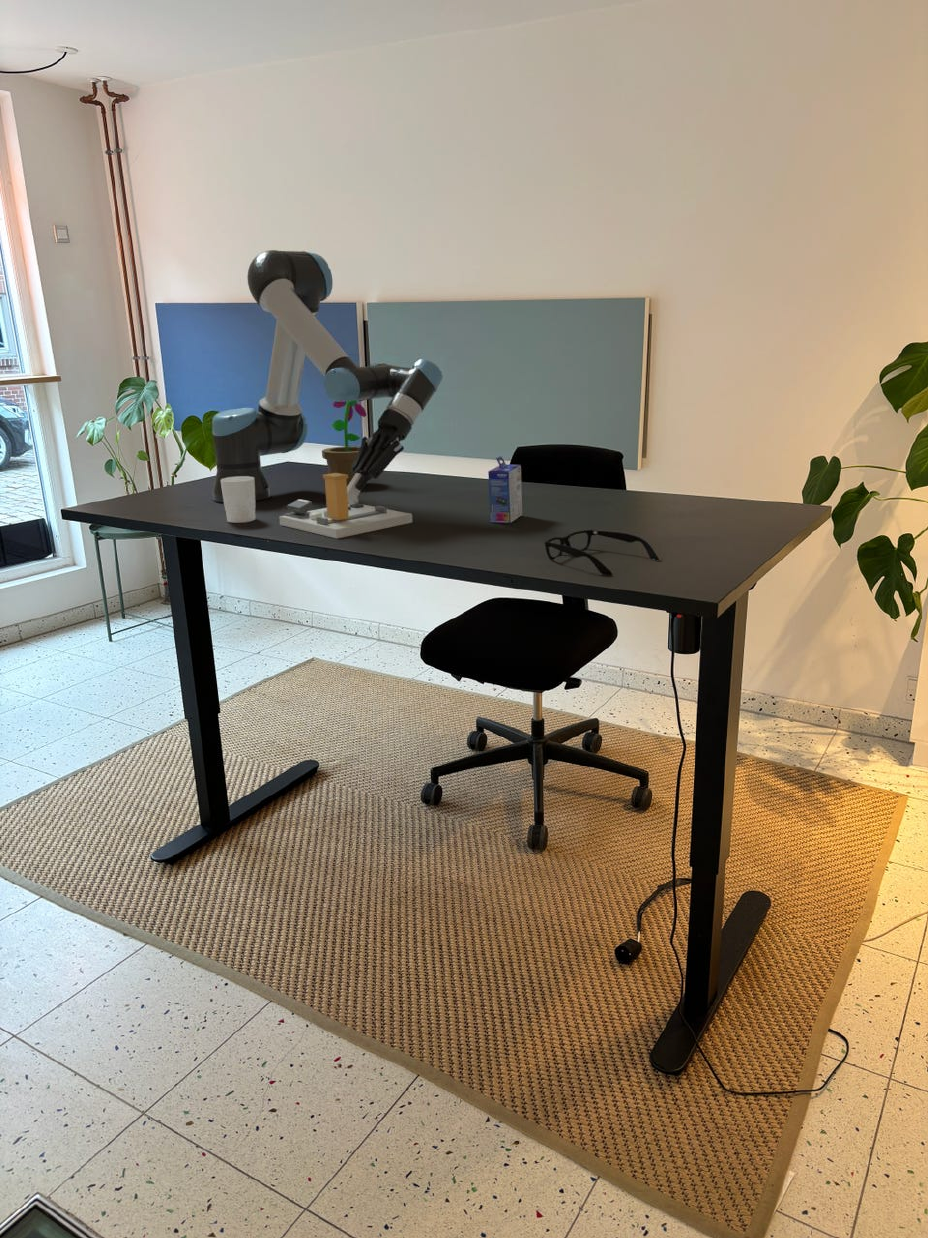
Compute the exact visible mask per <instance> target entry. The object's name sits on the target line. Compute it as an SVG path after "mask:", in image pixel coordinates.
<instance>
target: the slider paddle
mask: <svg viewBox="0 0 928 1238" xmlns="http://www.w3.org/2000/svg"><path fill="white" fill-rule="evenodd" d="M347 478H348V475H346V474H340V473H331V474H329V473H327V474H326V473H325V474H322V479H324V489H325V500H326V501H325V503H326V508H327V518H330V519H335V520H342V519H347V518H349V514H348V504H349V503H348V498H347V481H346V479H347Z"/></svg>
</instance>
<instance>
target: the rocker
mask: <svg viewBox="0 0 928 1238" xmlns="http://www.w3.org/2000/svg"><path fill="white" fill-rule="evenodd" d="M286 506H287V510H288V511H289V512H297V513H303V512H305V511H310V509H313V508H314V505H313V502H312V501H311V500H307V499H306V500H305V499H300V498H299V499H296V500H295V501H293V502H290V503H289V504H287V505H286Z"/></svg>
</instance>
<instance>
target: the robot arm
mask: <svg viewBox="0 0 928 1238" xmlns="http://www.w3.org/2000/svg"><path fill="white" fill-rule="evenodd" d="M329 267H330V266H329V264H328V262H327V261H326V259H325V258H323V257H322V256H321V255H319V254H318V253H315V252H310V251H309V252H308V251H306V250H305V251H304V250H302V251H300V250H299V251H298V250H297V251H295V250H276V249H275V250H274V249H272V250H264V251H262V252H260V253H259V254H257V255H256V256H255V257H254V259H252V261H251V263H250V264H249V267H248V270H247V286H248V289H249V292H250V294H251V295H252V297H253V299H254V301H255V302H256V303H257V305H259V307H260V308H261V309H262V310H263V312H266V313H271V315H272V316H273V317H274V318H275V319H276V323H275V331H274V339H273V344H272V352H271V359H270V363H269V364H270V365H269V371H268V379H267V386H266V393H265V396H263V398H260V400H259V401H258V407H257V408H258V409H257V411H256V409H255V408H252V407H241V408H236V409H235V408H233V409H229V410H228V409H227V410H223V411H219V412H218V413H216V414H214V416H213V417H212V421H211V422H212V427H211V428H212V432H211V433H212V437H213V445H214V446H213V448H214V455H215V465H216V474H215V480H214V484H213V488H212V500H213V501H215V502H217V503H224V500H223V494H222V487H221V479H223V478H228V477H237V476H249V477H254V480H255V502H256V501H257V502H258V501H262V500H263V501H264V500H266V499H268V498H270V497H271V491H270V490H271V489H270V487H269V484H268V482H267V479H266V477H265V474H264V472H263V470H262V465H261V456H269V455H276V454H277V455H278V454H286V453H289V452H293V451H296V450H298V449H299V448H301V446H303V444H304V443H305V440H306V438H307V436H308V435H307V434H308V424H307V423H306V421H307V419H306V417H305V415H304V414H303V412H302V411H303V409H302V407H301V406H300V404H299V403H298V401H299V396H300V394H299V393H300V389H301V383H302V377H303V371H304V364H305V358H306V357H307V358H308V359H309V361H310V362H311V363H312V364H313V365H314V366H315V368H316V369H317V370H318V372H320V374H321V375H322V377H324V379H323V388H324V389H325V393H326V396H327V397H328V398H329V399H330V400H332V401H334V402H335V401H336V402H351V401H356V400H357V401H358V400H364V399H367V400H376V399H385V398H391V400H390V401H389V402H388V404H387V405H386V408H385V410H384V411H383V412H382V413H381V415H380V417H379V418H378V420H377V430H375V432H374V433H372V436H370V437H369V438H368V437H367V436H363V437H362V439H361V445H360V446H361V447H360V449H359V451H358V454H357V456H356V458H355V460H354V463H353V465H352V467H351V470H352V471H353V472H354V473H355V474H354V476H353V477H352V479H351V481H350V482H349V484H348V486H347V498H348V504H350V503H352V504H353V503H355V499H356V498H358V496H359V495H360V493H361V491H362V490H363V489H364V488H365V486H366V483H367V484H368V481H371V479H375V480H376V479H378V478H379V477H380V475H382V473H383V472H384V471H385V470H386V468H387V467H388V466H389V465H390V463H391V462H392V461H393V460H394V459H395V457H397V455H399V454H400V453H401V452H402V451H404V449H405V447H404V446H403V445H402V443H401V441H405V440H406V438H407V436H408V435H409V434H410V432H411V431H412V429H413V426H414V425H415V424H416V422H417V421H418V419H419V417H420V415H422V413H423V411H424V410H425V408H426V407H427V405H428V404H429V401H430V400H431V399H432V397H433V396H434V394H435V393H436V392H437V390H438V388H439V386H440V384H441V382H442V380H443V373H442V371H441V369H440V368H439V367H438V366H437V364H436V363H434V362H433V361H431V360H429V359H426V358H420V359H418V360H416V361H415V363H414V364H412V367H403V366H397V365H392V364H387V363H378V362H377V363H371V364H370V365H369V366H358V365H356V364H355V362H354V361H353V360H352V359H351V357H350V356H349V355H348V354H347V352H346V351H345V350H344V349H343V348H342V347H341V346H340V345H339V344H338V342H337V341H336V340H335V339H334V337H333V336H332V335H331V334H330V332H329V331H328V330H327V329H326V328H325V327H324V326H323V324H322V323H321V322H320V321H319V320H318V318H317V317H316V316H315V315H317V314H318V313H319V309H320V304H321V302H323V301H325V300H327V299H328V297H330V295H331V294H332V290H333V285H334V282H333V280H334V279H333V275H332V272H331V269H330V268H329ZM364 401H365V400H364Z"/></svg>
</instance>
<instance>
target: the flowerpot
mask: <svg viewBox="0 0 928 1238" xmlns="http://www.w3.org/2000/svg"><path fill="white" fill-rule="evenodd" d="M366 400H368V399H364V400H356V401H351V402H336V401H334V402H333V403H332V405H333V407H334V408H337V409H340V408H343V407H345V409H344V410H345V411H344V420H341V419H337V420H334V422H332V426H331V427H332V428H333V429H334V430H335V431H337V432H341V431H343V432H344V433H343V434H344V435H343V436H344V446H334V447H327V448H323V449H322V450H321V457H322V459H324V460H326V465H327V470H328V474H331V473H340V474H346V475H348V478H347V479H346V481H347V486H348V484H349V482H350V481H351V479H352V477H353V476H354V474H355V473H354V472H353V471H352V470H351V467H352V465H353V463H354V460H355V458H356V456H357V454H358V451H359V449H360V447H361V445H360V446H358V445H357V446H353V445H352V446H349V442H356V441H359V440H360V439H361V438H360V436H359V435H357V434H353V433H349V432H348V425H349V424H348V422H351V419H352V418H353V416H354V411H355V412H356V413H357V414H358V415H359V416H361V417H363V418H365V417H366V416H367V412H366V409H365V408H364V407H363V406H362V404H360V403H357V401H359V402H363V401H366ZM353 407H354V409H353ZM366 484H368V482H367V483H366Z"/></svg>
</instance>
